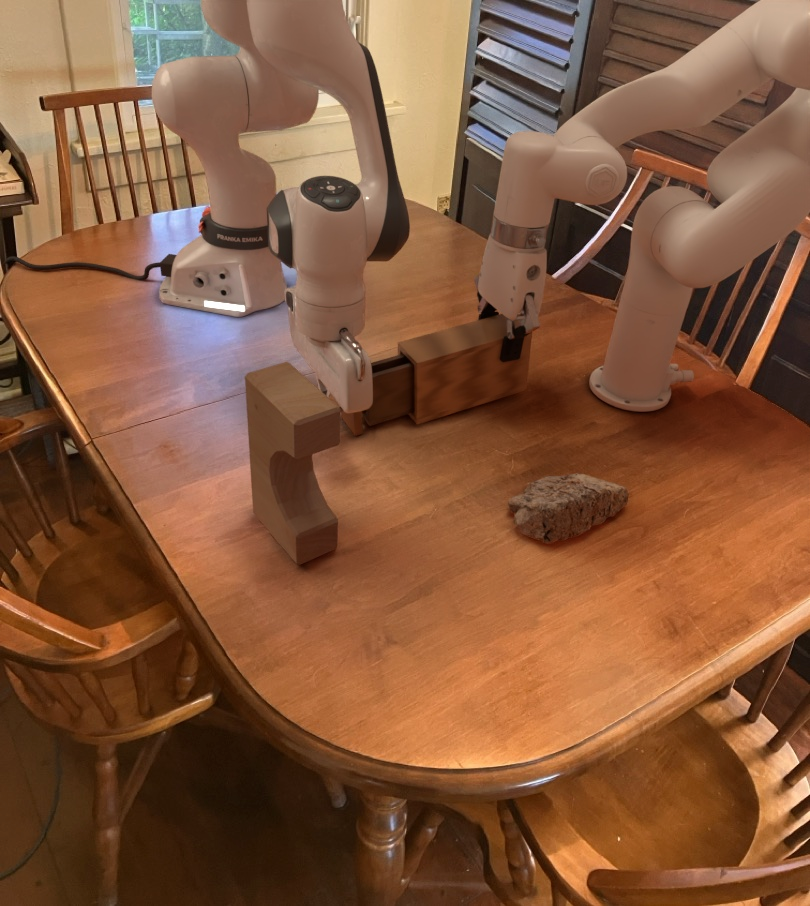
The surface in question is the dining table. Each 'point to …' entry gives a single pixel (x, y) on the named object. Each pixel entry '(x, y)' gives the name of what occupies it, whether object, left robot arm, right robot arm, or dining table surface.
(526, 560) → the dining table surface
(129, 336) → the dining table surface
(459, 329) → the cabinet
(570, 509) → the rock
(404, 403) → the drawer
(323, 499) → the decorative block
